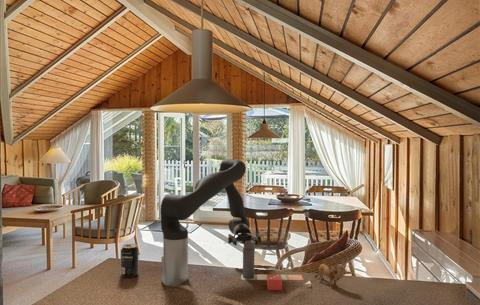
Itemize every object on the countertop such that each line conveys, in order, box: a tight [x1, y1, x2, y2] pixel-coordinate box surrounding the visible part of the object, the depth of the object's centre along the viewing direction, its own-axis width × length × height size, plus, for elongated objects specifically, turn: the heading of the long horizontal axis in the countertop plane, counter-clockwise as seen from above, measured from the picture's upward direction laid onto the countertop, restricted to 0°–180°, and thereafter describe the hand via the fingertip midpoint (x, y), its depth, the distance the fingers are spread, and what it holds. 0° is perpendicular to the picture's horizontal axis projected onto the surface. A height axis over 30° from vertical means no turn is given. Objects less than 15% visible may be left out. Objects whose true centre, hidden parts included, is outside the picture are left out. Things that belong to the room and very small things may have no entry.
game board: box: [240, 273, 312, 288], centre depth 141 cm, size 28×12×1 cm, turn 90°
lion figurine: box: [314, 263, 347, 290], centre depth 138 cm, size 15×5×9 cm, turn 34°
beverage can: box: [120, 243, 139, 278], centre depth 145 cm, size 7×7×12 cm
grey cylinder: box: [242, 240, 255, 279], centre depth 140 cm, size 4×4×14 cm
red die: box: [266, 274, 283, 291], centre depth 131 cm, size 5×5×5 cm
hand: (246, 242), depth 152 cm, fingers open, 8 cm apart
